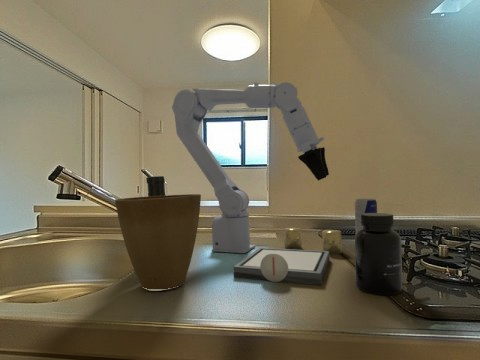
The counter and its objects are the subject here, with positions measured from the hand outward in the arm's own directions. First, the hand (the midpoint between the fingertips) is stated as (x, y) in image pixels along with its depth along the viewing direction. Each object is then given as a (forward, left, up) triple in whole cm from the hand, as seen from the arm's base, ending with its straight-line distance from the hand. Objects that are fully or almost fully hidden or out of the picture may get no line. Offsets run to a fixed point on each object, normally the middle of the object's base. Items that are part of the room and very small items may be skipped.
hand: (323, 177), depth 75 cm
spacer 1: (-9, +1, -18) cm, 20 cm away
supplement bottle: (+10, -24, -18) cm, 32 cm away
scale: (-7, -17, -18) cm, 26 cm away
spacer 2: (+1, -1, -18) cm, 18 cm away
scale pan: (-7, -17, -17) cm, 25 cm away
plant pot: (-26, -32, -18) cm, 45 cm away
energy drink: (+9, +8, -18) cm, 22 cm away
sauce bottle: (-36, -19, -18) cm, 44 cm away
